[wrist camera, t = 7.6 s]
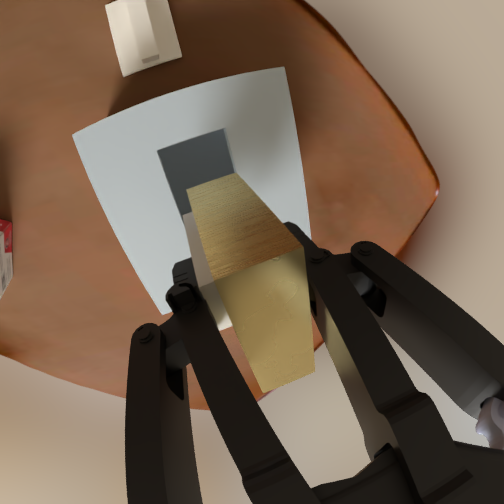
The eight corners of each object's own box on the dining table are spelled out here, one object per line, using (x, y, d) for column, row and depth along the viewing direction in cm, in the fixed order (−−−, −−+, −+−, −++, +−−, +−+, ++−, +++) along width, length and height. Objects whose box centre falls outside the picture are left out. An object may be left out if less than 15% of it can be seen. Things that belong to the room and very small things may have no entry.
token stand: (106, 7, 16) (99, -5, 12) (163, -12, 16) (164, -26, 13) (124, 77, 21) (118, 74, 18) (181, 57, 22) (184, 51, 19)
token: (186, 189, 13) (213, 280, 7) (236, 172, 13) (303, 247, 7) (225, 294, 17) (263, 393, 11) (263, 279, 17) (314, 371, 11)
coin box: (106, 118, 23) (71, 134, 13) (236, 75, 24) (284, 66, 15) (157, 244, 32) (162, 314, 22) (266, 205, 34) (312, 258, 24)
